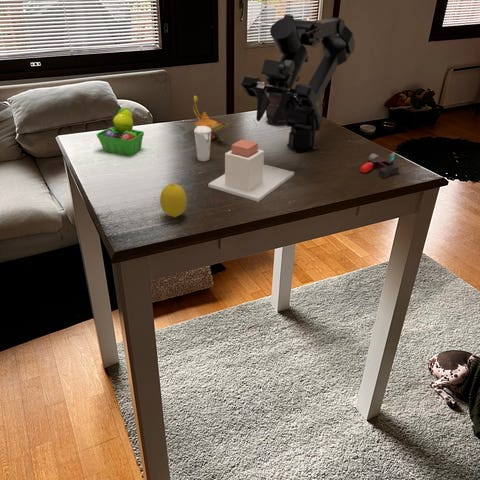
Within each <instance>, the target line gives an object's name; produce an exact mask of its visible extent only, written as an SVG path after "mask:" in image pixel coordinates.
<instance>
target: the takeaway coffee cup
mask: <svg viewBox="0 0 480 480" xmlns="http://www.w3.org/2000/svg"><path fill="white" fill-rule="evenodd" d="M213 126H214V125H213ZM212 128H213V127H212ZM193 132H194V140H195V147H196V157H197V161H200V162H208V161H210V157H211V156H210V153H211V140H212V139H211V134H212V132H211V129H210V128H209V127H207V126H197V127H196V126H195V128H194V130H193Z"/></svg>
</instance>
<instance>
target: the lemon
mask: <svg viewBox="0 0 480 480" xmlns="http://www.w3.org/2000/svg"><path fill="white" fill-rule="evenodd" d="M159 201H160V207H161V209H162V211H163V212H164V213H165V215H167V216H168V217H169V216H170V217H172V218H173V219H175V218H177V217H178V216H180V215H182V214H184V212H185V211H186V208H187V205H188V203H187V202H188V199H187V194H186V191H185V190H184V188H183V187H182V186H181V185H179V184H177V183H175V182H171V183H169V184H167V185H165V187H163V189H161V194H160V198H159Z"/></svg>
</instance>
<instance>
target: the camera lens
mask: <svg viewBox="0 0 480 480" xmlns="http://www.w3.org/2000/svg"><path fill="white" fill-rule="evenodd" d="M266 84H267V85H269V82H268V81H267V80H266ZM268 98H269V100H270V104H269V106H268V107H267V109H266V111H265V118H266V119H267V120H266V121H267V124H269V125H270V126H285V125H286V117H285V116H284V117H282V118H281V119H280V120H279V121H278V122H277V123H275V124H274V125H273V124H272V119H273V116H274V114H275V112H276V110H277V108H278V105H279V103H280V101H281V95H275V94H270V93H269V95H268ZM286 126H287V125H286Z"/></svg>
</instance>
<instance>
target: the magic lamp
mask: <svg viewBox="0 0 480 480" xmlns="http://www.w3.org/2000/svg"><path fill="white" fill-rule="evenodd" d="M198 99H199V98H198V96H197V95H194V96H193V102H194V105H193V113H194V114H195V115H196V118H197V119H198V120H197V121H195V123H194V125H195V126H194V127H195V128H196V127H197V126H207V127H209V128H210V129H211V140H213V139H215V138H216V136H215V135H214V134H213V132H216V131H217V132H218V131H219V130H220V129H222V128H223V127H224V126H228V123H219V122H218V121H216V120H214V119H210V117H209V115H207V112H206V111H203V113H202V114H200V112H199V110H198V107H197V102H198V101H199V100H198ZM200 117H201V118H200ZM213 125H214V126H213ZM212 127H213V128H212Z"/></svg>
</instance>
